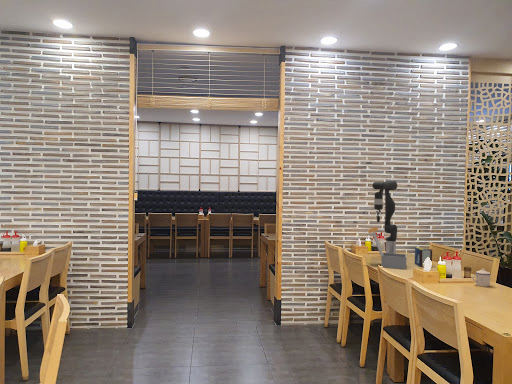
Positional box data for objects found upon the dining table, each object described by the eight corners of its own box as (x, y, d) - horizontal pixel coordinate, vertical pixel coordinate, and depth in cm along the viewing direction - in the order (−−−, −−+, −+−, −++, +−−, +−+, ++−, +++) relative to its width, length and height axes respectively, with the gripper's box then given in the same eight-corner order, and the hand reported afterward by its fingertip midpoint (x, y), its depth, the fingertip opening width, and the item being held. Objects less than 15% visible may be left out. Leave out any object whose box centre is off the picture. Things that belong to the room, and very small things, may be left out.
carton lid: (387, 251, 356) (377, 253, 359) (377, 225, 359) (368, 228, 362) (386, 254, 339) (376, 256, 342) (376, 227, 342) (366, 230, 345)
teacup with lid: (485, 283, 287) (485, 267, 287) (493, 287, 278) (493, 270, 278) (468, 283, 287) (469, 267, 287) (475, 286, 278) (476, 269, 278)
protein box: (426, 264, 361) (426, 247, 360) (432, 267, 345) (432, 249, 345) (414, 263, 362) (414, 246, 361) (419, 267, 346) (420, 249, 346)
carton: (382, 263, 358) (382, 252, 358) (406, 265, 351) (406, 254, 351) (381, 267, 341) (381, 255, 341) (406, 269, 334) (406, 257, 334)
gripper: (374, 203, 369) (374, 220, 369) (373, 204, 355) (373, 222, 356) (383, 203, 366) (383, 221, 367) (382, 204, 353) (382, 222, 353)
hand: (378, 221), depth 361 cm, fingers open, 8 cm apart
